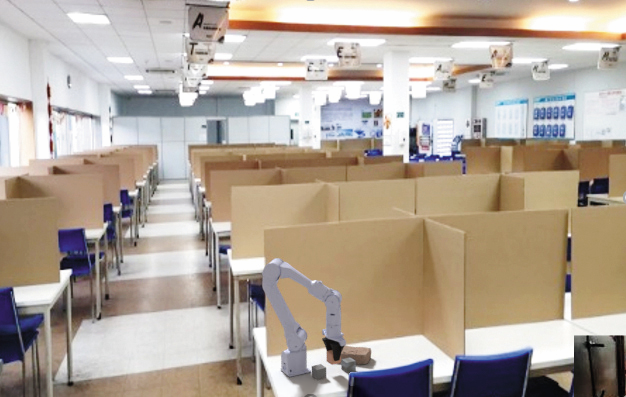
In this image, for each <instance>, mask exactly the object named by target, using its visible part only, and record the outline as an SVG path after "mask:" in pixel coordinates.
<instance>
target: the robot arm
mask: <svg viewBox="0 0 626 397" xmlns="http://www.w3.org/2000/svg"><path fill="white" fill-rule="evenodd" d="M261 275H262V282H261V283H262V290H263V292H264V294H265V296H266V298H267V300H268V301H269V303H270V304H271V307H272V309H273V311H274V312H275V315H276V317H277V318H278V320H279V323H280V324H281V327H282V328H283V333H284V335H283V336H284V338H285V340H286V347H287V349H285V350H282V351H281V354H280V360H281V361H280V366H281V368H280V371H282V373H284V374H285V375H286V376H287V377H290V378H292V377H295V376H300V375H303V374H308V373H312V369H310V368H308V367H307V366H308V364H307V363H308V358H307V356H308V354H307V353H308V352H307V351H308V350H307V345H306V343H305V342H306V341H307V339H308V333H307V331H306V330H305V329H304V328H303V327H302V326H301V324H300V323H299V322H297V321H296V319H295V317H294V316H293V314H292V312H291V310H290V308H289V306H288V304H287V302H286V301H285V299H284V296H283V294H282V293H281V291H280V289H279V287H278V282H279V280H280V279H291V280H292V281H294V282H296V283H298V284H299V285H301V286H303V287H304V288H306V289H307V292H308V294H309V295H311V296H312V297H315V299H317V300H318V301H320V302H322V303H324V306H325V308H326V312H325V328H324V329H321V335H322V336H325V337H323V338H322V339H321V340H322V342H323V344H324V347H325V350H326V352H327V351H329V350H332V351H333V358H334V361H338V360H340V356H341V352H342V350H343V348H344V346H347V340H346V339H345V338H344V336H345V333H344V332H342V311H341V310H342V307H341V303H342V300H343V296H342V294H341V292H340V291H339V290H336V289H333V288H332V287H331V288H330V287H328V286H327V285H325V284H323V281H322V280H317V279H315V280H312V279H311V278H308V276H306V275H305V274H303V273H302V272H300V271H299V270H297V269H296V268H295V267H294V266H292V265H291V264H290V263H288V262H287V261H284V260H283V259H282V258H278V257H276V258H273V259H272V260H270V262H268V263H267V264H266V265H265V266H264V267H263V270H262V272H261Z"/></svg>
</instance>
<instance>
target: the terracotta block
mask: <svg viewBox="0 0 626 397" xmlns="http://www.w3.org/2000/svg"><path fill="white" fill-rule="evenodd" d="M326 363H328V364H330V365H332V366H333V365H337V364H341V356H340V360H338V361H334V358H333V351H332V350H329V351H327V350H326Z"/></svg>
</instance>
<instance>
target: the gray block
mask: <svg viewBox="0 0 626 397" xmlns="http://www.w3.org/2000/svg"><path fill="white" fill-rule="evenodd" d="M311 377H312V378H313V379H315V380H316V381H318V380H323V379H326V378H327V367H326V366H324V365H323V364H322V363H320V364H316V365H311Z"/></svg>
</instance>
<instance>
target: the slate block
mask: <svg viewBox="0 0 626 397" xmlns="http://www.w3.org/2000/svg"><path fill="white" fill-rule="evenodd" d="M340 364H341V365H340V366H341V370H342V371H343V372H345V373H346V374H347V373H348V372H349V373H351V372H350V371H353V372H356V371H357V367H356V366H357V364H356V361H355V360H353V359H352V358H346V359H341V363H340Z"/></svg>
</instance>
